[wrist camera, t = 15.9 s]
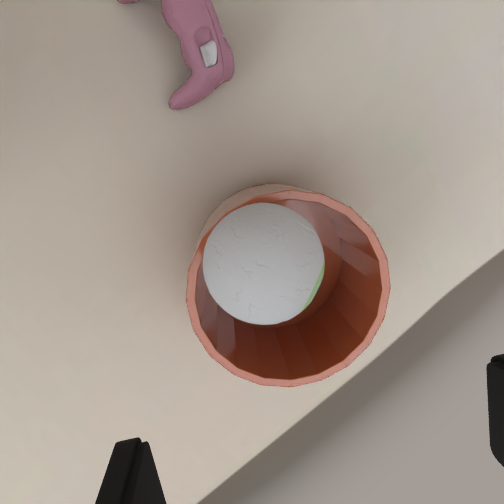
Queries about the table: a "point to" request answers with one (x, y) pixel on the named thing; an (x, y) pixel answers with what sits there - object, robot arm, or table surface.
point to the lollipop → (263, 263)
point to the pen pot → (315, 314)
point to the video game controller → (198, 48)
